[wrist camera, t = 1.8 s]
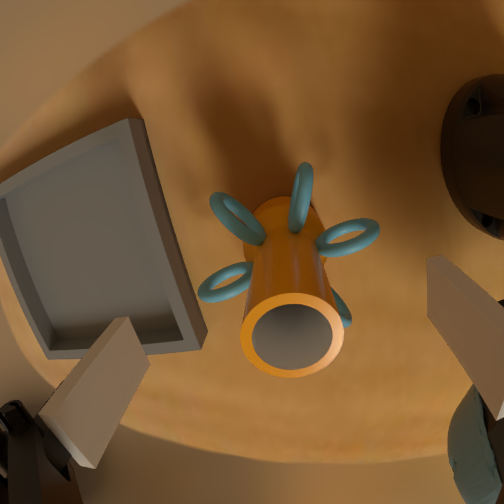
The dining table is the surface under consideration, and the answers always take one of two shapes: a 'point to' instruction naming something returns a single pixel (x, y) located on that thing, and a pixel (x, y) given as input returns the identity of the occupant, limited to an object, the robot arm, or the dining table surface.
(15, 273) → the tray
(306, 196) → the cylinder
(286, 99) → the dining table surface
